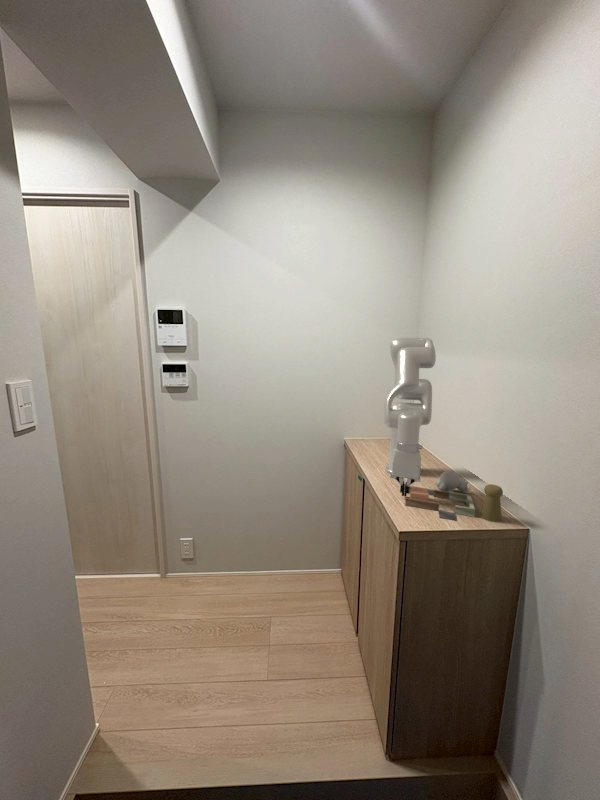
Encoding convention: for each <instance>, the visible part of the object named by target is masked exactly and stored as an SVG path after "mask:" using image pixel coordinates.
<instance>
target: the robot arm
mask: <svg viewBox="0 0 600 800" xmlns="http://www.w3.org/2000/svg"><path fill="white" fill-rule="evenodd" d="M389 346H390V347H389V350H390V356H391V359H392V360H391V361H392V363H393V365H394V383H393V384H394V386H393V387H392V389H390V391H389V392H388V393H387V395H386V397H385V400H384V404H383V405H384V406H383V422H384V425H385V426H386V428H389V429H390V441H389V456H388V457H389V460H388V464H387V465H385V468H384V469H385V471H386V472H387V473H389V474H390V475H389V476H390V479H393V480H396V481H397V482H398V483H399V485H400V486H399V487H400V490H399V492H400V493H401V497H407V496H408V495H407V494H409V495H410V493H409V486H412V484H414V483H420V482H421V481H422V479H421V478H422V477H421V471H422V458H421V457H422V456H421V451H420V450H423V445H421V444H420V443H419V442H420V441H419V440H420V439H419V438H420V429H421V426H427V425H429V424H430V423H431V421H432V411H433V410H432V409H433V385H432V383H431V381H430V380H429V379H427V378H420V369H432V368H434V367H435V364H436V358H437V355H436V350H435V346H434V343H433V340H432V339H431V338H428V337H398V338H394V339H393V340H391V342H390V344H389ZM395 398H396V399H398V400H405V401H419V402H420V403H417V402H415V403H414V402H395V403H393V401H394V399H395ZM404 479H406V482H405V480H404Z"/></svg>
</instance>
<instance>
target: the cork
mask: <svg viewBox="0 0 600 800" xmlns="http://www.w3.org/2000/svg"><path fill="white" fill-rule="evenodd" d="M483 490H484V494H485V496H484V498H483V499H484V500H483V504H482V507H481V512H480V513H479V514H480V517H481V518H482V519H483V520H486V521H488V522H492V523H500V522H501V521H502V509H501V508H502V507H501V506H502V504H501V497H503V493H504V492H503V489H502V487H501V486H499V485H496V484H490V483H489V484H486V485H485V486H484V489H483Z"/></svg>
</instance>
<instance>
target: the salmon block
mask: <svg viewBox="0 0 600 800" xmlns="http://www.w3.org/2000/svg"><path fill="white" fill-rule="evenodd" d="M412 486H413V485H410V493H409V498H413V499H419V500H425V501H429V498H430V497H429V496H430V495H429V494H428V489H429V488H427V487H419V486H414V487H412Z"/></svg>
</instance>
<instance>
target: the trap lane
mask: <svg viewBox="0 0 600 800" xmlns="http://www.w3.org/2000/svg"><path fill="white" fill-rule="evenodd" d="M410 486H412V487H415V485H414V486H413V485H410ZM410 486H409V494H410ZM427 489H428V494H429V496H432V497H434V498H437V499H438V498H439V499H444V500H449V501H450V500H452V501H457V502H458V501H459V502H464V503H466V506H463V505H458V504H457V505H456V504H455V505H454V512H453V511H446V510H441V509H440V502H437V501H430V500H428V501H425V500H419V499H413V498H410V497H405V499H404V500H405V501H404V502H405V503H404V506H407V507H411V508H412V507H413V508H419V509H424V510H425V509H426V510H430V511H438V515H439V519H442V520H443V519H445V520H449V521H450V520H451V521H455V522H456V521H457V518H456V517H457V516H456V515H461V516H466V517H474V518H475V516H476V515H475V514H476V507H475V505H474V502H473V500H472V496H471V494H468V493H466V494H464V493H462V492H454V491H453V492H448V491H442V490H440V489H431V488H427ZM439 509H440V510H439Z"/></svg>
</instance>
